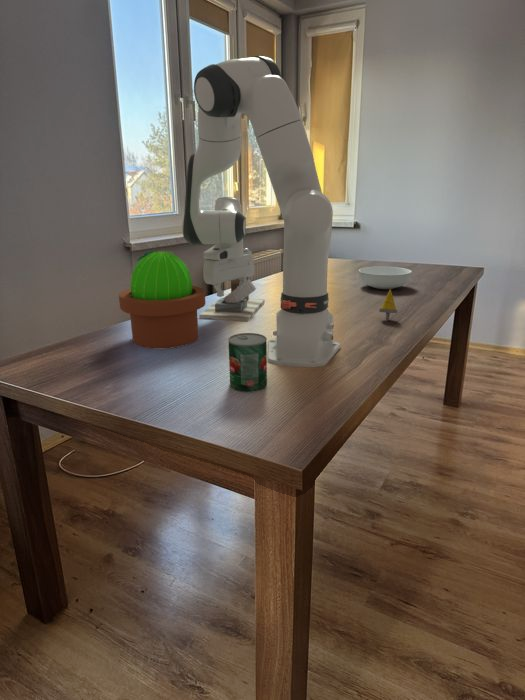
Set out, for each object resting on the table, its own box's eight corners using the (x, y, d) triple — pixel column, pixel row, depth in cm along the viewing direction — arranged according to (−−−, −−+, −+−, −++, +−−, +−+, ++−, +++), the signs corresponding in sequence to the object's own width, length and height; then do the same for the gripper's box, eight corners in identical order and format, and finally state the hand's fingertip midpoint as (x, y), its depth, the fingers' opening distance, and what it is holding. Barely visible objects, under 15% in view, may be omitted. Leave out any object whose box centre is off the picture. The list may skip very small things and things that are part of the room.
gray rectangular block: (230, 308, 157) (255, 290, 155) (223, 298, 156) (247, 280, 154) (232, 306, 161) (256, 288, 159) (225, 296, 160) (249, 278, 158)
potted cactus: (222, 339, 133) (218, 248, 125) (154, 360, 118) (145, 257, 110) (175, 324, 148) (169, 241, 139) (109, 341, 133) (98, 249, 125)
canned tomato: (274, 389, 101) (274, 339, 97) (243, 399, 97) (241, 347, 93) (253, 377, 107) (252, 330, 104) (222, 386, 103) (220, 337, 99)
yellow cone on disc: (377, 321, 147) (380, 288, 145) (379, 320, 152) (382, 288, 150) (395, 322, 145) (398, 289, 144) (396, 321, 150) (400, 289, 149)
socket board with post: (248, 321, 150) (247, 272, 144) (199, 319, 153) (196, 270, 148) (264, 303, 172) (264, 259, 167) (221, 301, 175) (219, 258, 170)
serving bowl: (407, 282, 204) (408, 266, 202) (413, 293, 185) (414, 275, 183) (357, 281, 208) (358, 265, 206) (357, 291, 188) (358, 274, 186)
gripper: (244, 246, 162) (245, 287, 167) (199, 253, 147) (201, 297, 152) (258, 248, 158) (258, 289, 163) (213, 255, 144) (215, 300, 148)
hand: (230, 293), depth 157 cm, fingers open, 8 cm apart
